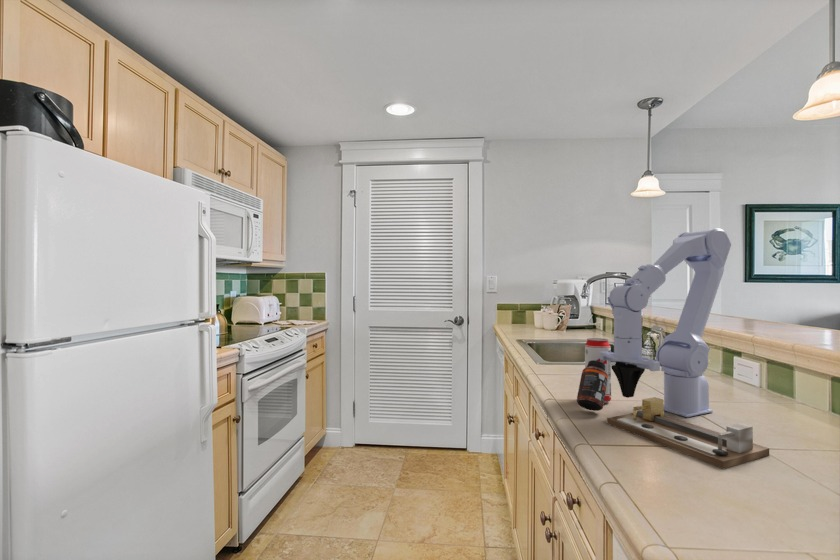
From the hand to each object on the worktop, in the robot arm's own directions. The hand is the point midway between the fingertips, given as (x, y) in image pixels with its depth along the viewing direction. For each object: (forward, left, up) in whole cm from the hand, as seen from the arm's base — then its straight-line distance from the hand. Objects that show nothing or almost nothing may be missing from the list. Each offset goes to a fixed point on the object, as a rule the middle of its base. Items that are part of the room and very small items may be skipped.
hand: (628, 396), depth 95 cm
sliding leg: (+2, +6, -3) cm, 7 cm away
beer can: (-3, -12, -5) cm, 13 cm away
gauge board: (+1, +13, -5) cm, 14 cm away
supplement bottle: (+6, -5, -3) cm, 9 cm away
